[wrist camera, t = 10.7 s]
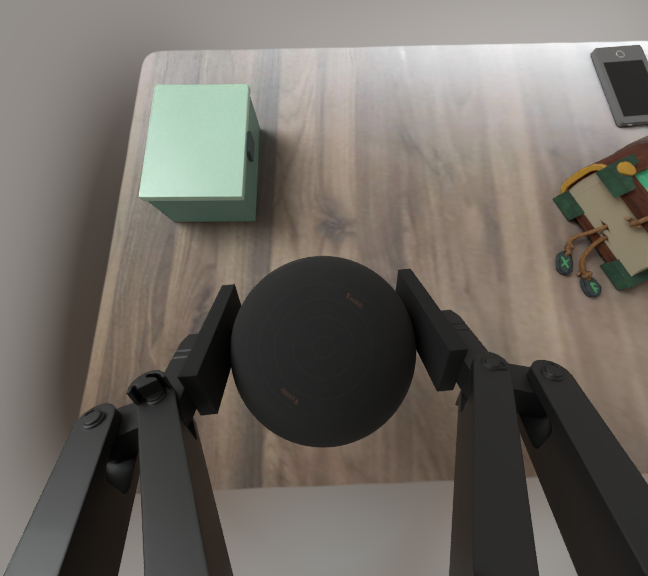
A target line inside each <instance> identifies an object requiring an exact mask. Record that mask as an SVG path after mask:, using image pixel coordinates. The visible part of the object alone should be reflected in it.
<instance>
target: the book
mask: <svg viewBox="0 0 648 576" xmlns="http://www.w3.org/2000/svg"><path fill="white" fill-rule="evenodd" d="M553 200H554V201H555V203H556V204H557V205H558V207H559V208H560V210H561V211H562V212H563V214H564V215H565V217H566V218H567V219H568V221H569V220H571V219H573V218H576V219H577V221H578V222H579V224H580V225H581V226H582V228H583V229H584V230H585V232H583V233H580V234H577V235H575V236H573V237H571V238H569V239H568V240H567V242H566V245H565V249H566V251H562V252H560V253H559V254H558V255H557V257H556V269H557V270H558V271H559V273H560V274H563V275H568V274H570V273H571V272H572V267H573V261H572V256H571V251H572V249H574V245H573V244H572V243H571V242H572V241H574V240H575V239H577V238H579V237H583V236H586V235H588V236H589V237H590V239H591V240H592V242H593V243H592V244H591V245H590V246H589V247H588V248H587V250H586V251H585V252H584V253H583V254H582V256H581V258H580V261H579V269H580V271H581V272H577V275H582V276H581V280H580V283H581V287H582V289H583V291H584V293H585V294H586V295H587V296H588V297H596V296H598V295H599V294H600V292H601V286H600V284H599V283H598V282H597V281H596V280H595V279H593V278H592V277H591V276H590V275H592V272H591V271H586V269H585V260H586V257H587V255H588V254H589V253H590V252H591V251H592V250H593V248H594V247H595V246H596V247H597V249H598V250H599V251H600V253H601V254H602V256H603V257H604V258H605V260H606V261H607V262H606V263H604V264H602V265H600V266H601V267H602V269H603V270H604V272H605V273H606V274H607V276H608V277H609V279H610V280H611V281H612V283H613V284H614V286H615V287H616V288H617V290H620V289H626V288H631V287H633V286H635V285H637V284H639V283H641V282H643V281H645V280H647V279H648V136H646V137H644V138H642V139H639V140H637V141H635V142H633V143H631V144H629V145H627V146H625V147H624V148H622V149H620V150H618V151H617V152H616V153H614V154H613V155H611V156H609V157H607V158H605V159H602V160H600V161H598V162H596V163H594V164H592V165H589V166H587V167H585V168H583V169H581V170H580V171H578V172H577V173H575V174H574V175H572V176H571V177H570V178H568V179H567V180H566V181H565V182H564V183H563V185H562V187H561V194H560V195H558V196H557V197H555V198H553Z"/></svg>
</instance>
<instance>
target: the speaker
mask: <svg viewBox="0 0 648 576" xmlns="http://www.w3.org/2000/svg"><path fill="white" fill-rule="evenodd" d="M230 361H231V369H232V374H233V378H234V381H235V384H236V387H237V389H238V392H239V394H240V396H241V398H242V400H243V401H244V403H245V405H246V406H247V408H248V409H249V410H250V412H251V413H252V414H253V415H254V416H255V418H256V419H257V420H258V421H259V422H260V423H262V424H263V425H264V426H265V427H266V428H268V429H269V430H270V431H272V432H273V433H275V434H276V435H278V436H280V437H282V438H284V439H286V440H288V441H291V442H294V443H297V444H300V445H305V446H310V447H336V446H341V445H346V444H349V443H352V442H355V441H358V440H360V439H362V438H364V437H366V436H368V435H370V434H371V433H373V432H374V431H376V430H377V429H379V428H380V427H381V426H382V425H383V424H385V423H386V422H387V421H388V420H389V419H390V418H391V417H392V415H393V414H394V413H395V412H396V410H397V409H398V408H399V406H400V405H401V403H402V402H403V400H404V398H405V396H406V394H407V392H408V390H409V387H410V384H411V381H412V378H413V374H414V370H415V363H416V340H415V334H414V329H413V325H412V322H411V319H410V316H409V314H408V311H407V309H406V307H405V305H404V304H403V302H402V300H401V299H400V297H399V296H398V294H397V293H396V292H395V290H394V289H393V288H392V287H391V286H390V285H389V284H388V283H387V282H386V281H385V280H384V279H383V278H382V277H381V276H379V275H378V274H377V273H375V272H374V271H372V270H371V269H369V268H367V267H365V266H363V265H361V264H359V263H357V262H354V261H351V260H348V259H344V258H339V257H332V256H315V257H307V258H302V259H299V260H295V261H292V262H290V263H287V264H285V265H283V266H281V267H279V268H277V269H276V270H274V271H273V272H271V273H270V274H268V275H267V276H266V277H264V278H263V279H262V280H261V281H260V282H259V283H258V284H257V285H256V286H255V287H254V288H253V289H252V291H251V292H250V293H249V295H248V296H247V297H246V299H245V301H244V302H243V304H242V306H241V308H240V310H239V312H238V314H237V317H236V320H235V323H234V326H233V330H232V335H231V342H230Z"/></svg>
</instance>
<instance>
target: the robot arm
mask: <svg viewBox="0 0 648 576" xmlns="http://www.w3.org/2000/svg"><path fill="white" fill-rule="evenodd" d="M396 293H397V294H398V296H399V297H400V299H401V300H402V302H403V304H404V305H405V307H406V309H407V311H408V314H409V316H410V319H411V322H412V325H413V329H414V334H415V340H416V350H417V352H418V354H419V356H420V358H421V360H422V362H423V364H424V366H425V368H426V370H427V372H428V374H429V376H430V378H431V380H432V382H433V384H434V386H435V388H436V390H437V391H447V390H453V389H454V387H455V384H456V382H457V384H458V386H459V387H460V389H461V391H460V393H459V396H458V398H457V401H456V404H455V405H457V406H458V423H457V441H456V459H455V478H454V497H453V515H452V533H451V551H450V570H449V576H539V571H538V565H537V557H536V550H535V543H534V535H533V528H532V522H531V513H530V507H529V500H528V492H527V484H526V477H525V470H524V463H523V455H522V448H521V441H520V434H521V437H522V439H523V442H524V444H525V446H526V449H527V451H528V454H529V456H530V459H531V461H532V464H533V466H534V469H535V471H536V474H537V476H538V478H539V481H540V483H541V486H542V488H543V491H544V493H545V495H546V498H547V501H548V503H549V506H550V508H551V510H552V513H553V515H554V517H555V520H556V523H557V525H558V528H559V530H560V533H561V535H562V538H563V540H564V542H565V545H566V547H567V550H568V552H569V555H570V557H571V560H572V562H573V565H574V567H575V569H576V572H577V574H578V576H648V484H647V482H646V481H645V480H644V478H643V477H642V475H641V474H640V472H639V471H638V469H637V468H636V467H635V465H634V464H633V462H632V461H631V459H630V458H629V457H628V455H627V454H626V452H625V451H624V449H623V448H622V446H621V445H620V444H619V442H618V441H617V439H616V438H615V436H614V435H613V434H612V432H611V431H610V429H609V428H608V426H607V425H606V423H605V422H604V421H603V419H602V418H601V416H600V415H599V413H598V412H597V410H596V409H595V408H594V406H593V405H592V403H591V402H590V400H589V399H588V398H587V396H586V395H585V393H584V392H583V390H582V389H581V387H580V386H579V385H578V383H577V382H576V380H575V379H574V377H573V376H572V375H571V374H570V373H569V372H568V371H567V370H566V369H565V368H563V367H562V366H560V365H558V364H556V363H554V362H551V361H547V360H537V361H535V362H533V363H532V365H531V367H526V366H520V365H513V364H509V363H507V362H506V361H505V359H503V358H502V357H500V356H499V355H497V354H494V353H491V352H488V351H487V350H486V348H485V347H484V346H483V345H482V343H481V342H480V341H479V340H478V338H477V337H476V336H475V335H474V333H473V332H472V331H471V330H470V328H469V327H468V326H467V325H466V324H465V322H464V321H463V320H462V318H461V317H460V316H459V315H457V314H456V313H455V312H453V311H452V310H443V311H441V310H440V309H439V307H438V306H437V305H436V303H435V302H434V300H433V299H432V298H431V296H430V295H429V294H428V292H427V291H426V289H425V288H424V287H423V285H422V284H421V283H420V281H419V280H418V278H417V277H416V276H415V274H414V273H413V272H412V270H411V269H402V270H398V277H397V286H396ZM240 308H241V303H240V300H239V297H238V293H237V290H236V287H235V284H233V285H222V287H221V289H220V291H219V293H218V295H217V297H216V299H215V301H214V303H213V305H212V307H211V309H210V311H209V313H208V315H207V318H206V320H205V322H204V324H203V326H202V328H201V330H200V332H199V334H192V335H188V336H187V337H186V338H185V339H184V340H183V341H182V342H181V343H180V345H179V347H178V349H177V352H175V354H174V356H173V359H172V360H171V362H170V363H169V365H168V367H167V369H166V371H165V372H162V371H160V370H154V371H150V372H147V373H144V374H143V375H141V376H139V377H138V378H137V379H135V380H134V381H133V382H132V383H131V385H130V386H129V387H128V390H127V395H128V396H129V397H130V398H131V399H132V401H133V402H134V403H132V404H129V405H126V406H123V407H121V408H118V409H116V408H115V407H114V406H113V405H112V404H108V403H106V404H100V405H98V406H96V407H93V408H92V409H90V410H89V411H87V412H86V413H84V414H83V415H82V416H81V417H80V418H79V419H78V420H77V422H76V423H75V425H74V426H73V428H72V430H71V433H70V435H69V437H68V439H67V441H66V443H65V445H64V448H63V450H62V452H61V454H60V456H59V458H58V461H57V462H56V464H55V467H54V469H53V471H52V473H51V475H50V477H49V479H48V482H47V484H46V486H45V488H44V490H43V492H42V494H41V496H40V499H39V501H38V503H37V505H36V507H35V510H34V511H33V513H32V516H31V518H30V520H29V522H28V525H27V526H26V528H25V531H24V533H23V535H22V537H21V539H20V541H19V543H18V546H17V548H16V550H15V552H14V554H13V556H12V559H11V560H10V563H9V565H8V567H7V569H6V571H5V573H4V575H3V576H118V572H119V568H120V563H121V558H122V554H123V549H124V544H125V540H126V535H127V531H128V526H129V521H130V516H131V512H132V507H133V503H134V498H135V493H136V489H137V484H138V479H139V475H140V485H141V507H142V531H143V554H144V576H233V572H232V569H231V564H230V561H229V556H228V552H227V548H226V544H225V540H224V536H223V532H222V528H221V523H220V519H219V515H218V511H217V507H216V503H215V499H214V495H213V491H212V487H211V482H210V478H209V474H208V470H207V466H206V462H205V458H204V454H203V450H202V446H201V442H200V437H199V433H198V429H197V425H196V422H195V420H194V418H193V416H194V414H195V411H196V409H197V410H198V412H199V413H200V415H209V414H218V411H219V407H220V404H221V400H222V397H223V393H224V390H225V387H226V383H227V380H228V376H229V373H230V369H231V361H230V342H231V335H232V330H233V326H234V323H235V320H236V317H237V314H238V312H239V310H240ZM519 432H520V434H519Z"/></svg>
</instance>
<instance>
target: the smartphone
mask: <svg viewBox="0 0 648 576" xmlns="http://www.w3.org/2000/svg"><path fill="white" fill-rule="evenodd" d="M591 57H592V60H593V63H594V65H595V68H596V71H597V73H598V76H599V79H600V81H601V84H602V87H603V89H604V92H605V95H606V97H607V100H608V103H609V105H610V108H611V111H612V113H613V116H614V119H615V121H616V124H617V125H618V126H619V127H622V126H634V125H646V124H648V61H647V59H646V56H645V54H644V52H643V49H642V47H641V46H640V45H632V46H619V47H605V48H596V49H595V50H594V51H593V52H592V53H591Z"/></svg>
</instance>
